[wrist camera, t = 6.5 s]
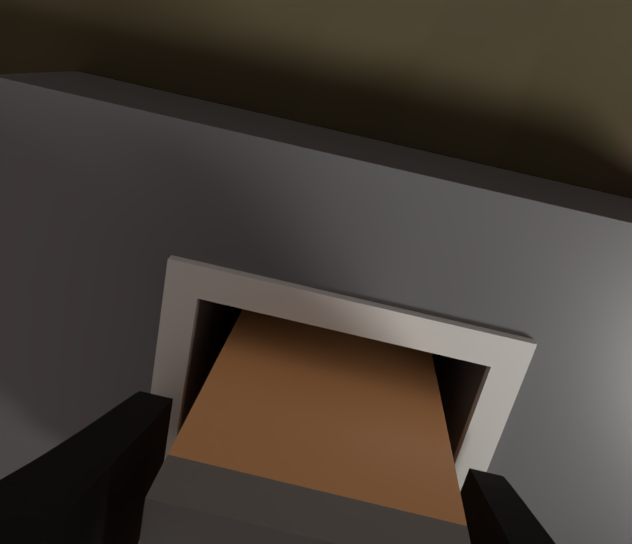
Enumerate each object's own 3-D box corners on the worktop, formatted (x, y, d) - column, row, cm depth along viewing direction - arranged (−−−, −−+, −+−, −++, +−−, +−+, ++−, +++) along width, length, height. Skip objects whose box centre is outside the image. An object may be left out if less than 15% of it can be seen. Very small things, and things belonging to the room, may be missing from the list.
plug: (425, 322, 13) (477, 577, 7) (381, 460, 15) (390, 781, 8) (256, 282, 13) (144, 497, 7) (228, 423, 15) (115, 715, 8)
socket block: (690, 212, 12) (798, 264, 9) (513, 593, 16) (547, 718, 13) (76, 70, 12) (-22, 74, 9) (52, 484, 16) (-22, 583, 13)
